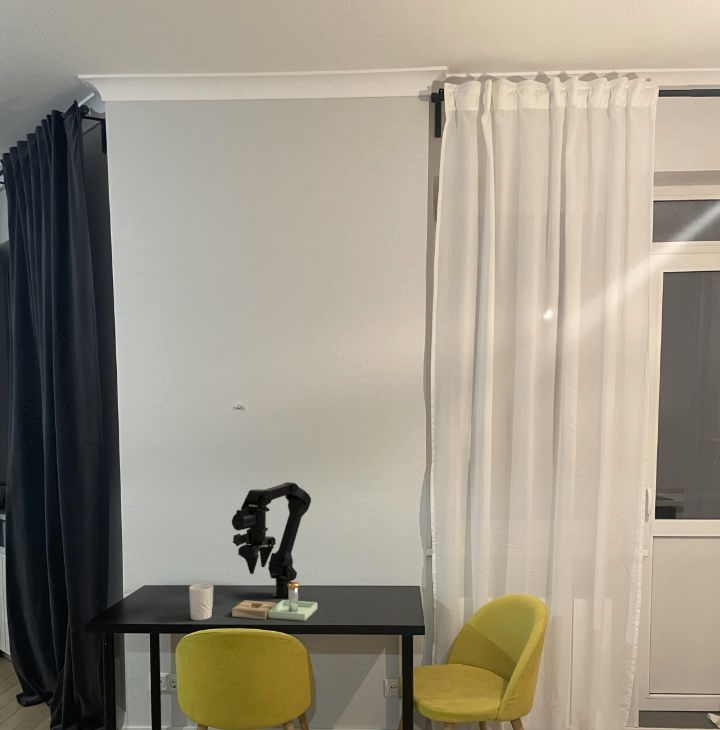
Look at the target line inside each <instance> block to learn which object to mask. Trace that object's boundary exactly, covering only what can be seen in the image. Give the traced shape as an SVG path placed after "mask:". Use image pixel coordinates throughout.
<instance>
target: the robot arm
mask: <svg viewBox="0 0 720 730" xmlns="http://www.w3.org/2000/svg"><path fill="white" fill-rule="evenodd" d="M281 497H285V499H286V500H287V508H288V512H289V514H288V517H287V519H286V524H285V528H284V530H283V534H282V537H281V540H280V544H279V547H278V550H277V551H276V552H273V549H274V548H275V546H276V544H277V543H276V541H277V540H276V538H275V537H274V536H267V532H268V530H269V528H268V527H266V525H267V524H266V523H267V522H266V521H267V519H266V518H267V512H270V508H269V507H268V505H270V504H271V502H272V501H274V500H276V499H279V498H281ZM311 502H312V498H311V496H310V493H308V492H307V491H306V490H305V489H303V488H301V487H300V486H298V484H297V483H296V482H288V481H286V482H283V483H282V484H278V485H275V486H272V487H269V488H265V489H262V488H260V489H258V488H257V489H250V490H248V492H247V495H246V497H245V499H244V500H243V503H242V505H241V507H240V509H236V512H235V514H234V515H233V516H232V519H231V525H232V527H233V529H234V530H236V531H242V530H243V531H244V530H246V533H243V534H240V533H237V534H234V535H233V538H232V543H233V544H234V545H235V546H236V547H239V548H238V549H237V555H238V556H240V557H241V558H243V559H244V560H245V562H246V565H247V568H248V571H249V574H250V575H253V574H254V573H255V570H256V567H257V562H258V559H260V566H261V568H265V567H266V564H268V572H269V576H270V578H271V579H275V593H274V594H272V598H280V599H281V598H282V599H289V587H288V586H287V584H288V583H289V582H293V581H295V580H296V579H297V574H298V572H297V570H295V568H294V567H293V564H294V560H293V557H292V552H293V548H294V544H295V540H296V539H297V534H298V531H299V527H300V524H301V521H302V517H303V516H304V515H305V514H306V513H307V512H308V511H309V508H310V506H311Z"/></svg>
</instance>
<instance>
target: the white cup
mask: <svg viewBox="0 0 720 730" xmlns="http://www.w3.org/2000/svg"><path fill="white" fill-rule="evenodd" d="M188 588H189V590H188V591H189V592H188V593H189V610H190V619H191V620H193V621H204V620H208V619H210V618H211V617H212V614H213V612H212V611H213V603H214V584H212V583H209V582H208V583H207V582H203V583H202V582H201V583H195V584H193V585H190V586H189V587H188Z"/></svg>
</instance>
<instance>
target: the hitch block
mask: <svg viewBox="0 0 720 730" xmlns="http://www.w3.org/2000/svg"><path fill="white" fill-rule="evenodd" d="M275 605H277V602H272V601H271V602H270V601H257V600H246V599H245V600H243V601H242V602H240V603H238V604H237V605H236V606H234V607H233V608H232V612H231V613H232V615H231V616H232V617H237V618H246V619H247V618H248V619H259V620H266V619H268V611H269V610H270V609H272V608H273V607H274V606H275Z"/></svg>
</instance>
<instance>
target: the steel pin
mask: <svg viewBox="0 0 720 730" xmlns="http://www.w3.org/2000/svg"><path fill="white" fill-rule="evenodd" d="M287 586H288V587H289V598H288V600H289V612H293V613H297V612H298V601H299V587H300V582H298V581H291V582H289V583H288V584H287Z"/></svg>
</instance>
